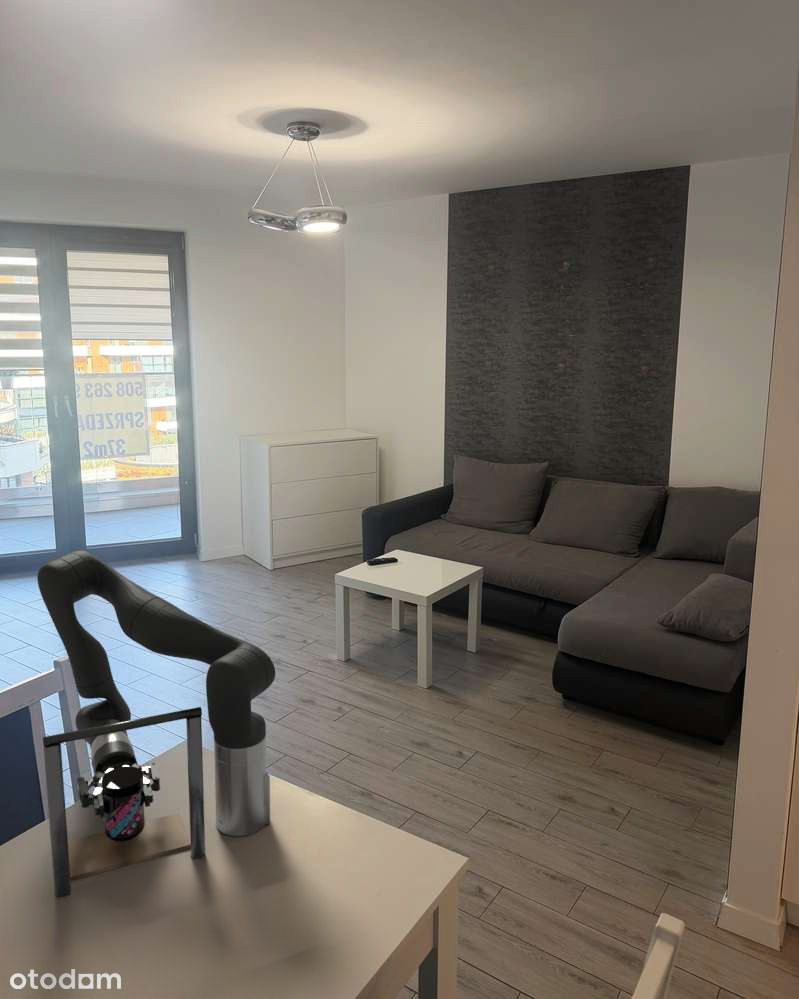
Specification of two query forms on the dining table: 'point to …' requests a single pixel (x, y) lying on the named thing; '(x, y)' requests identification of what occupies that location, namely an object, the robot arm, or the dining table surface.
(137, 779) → the supplement container
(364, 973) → the dining table surface
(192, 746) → the frame
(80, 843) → the walnut board
